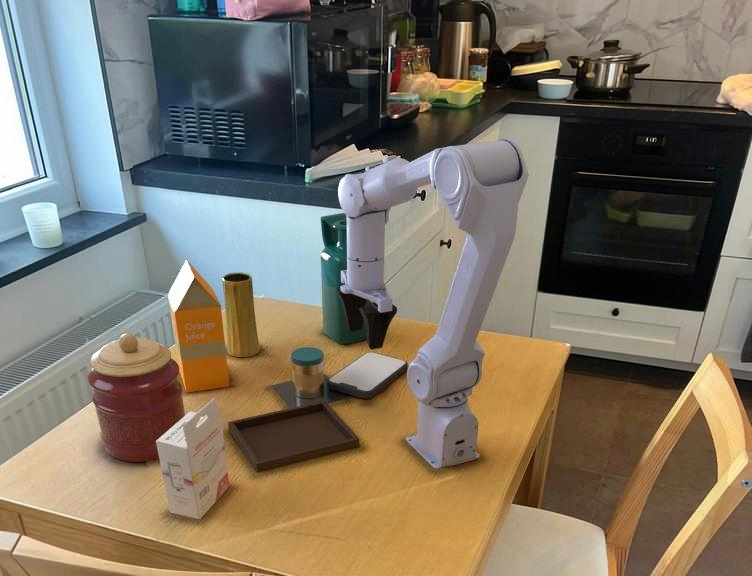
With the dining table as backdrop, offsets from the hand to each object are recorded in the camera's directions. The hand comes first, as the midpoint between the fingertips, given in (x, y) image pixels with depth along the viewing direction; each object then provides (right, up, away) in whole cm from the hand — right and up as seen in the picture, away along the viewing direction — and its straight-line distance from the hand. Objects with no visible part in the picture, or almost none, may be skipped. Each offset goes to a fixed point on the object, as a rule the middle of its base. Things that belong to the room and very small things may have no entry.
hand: (365, 339), depth 126 cm
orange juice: (-29, -5, +11) cm, 31 cm away
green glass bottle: (-4, +6, +27) cm, 28 cm away
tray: (-11, -17, -6) cm, 21 cm away
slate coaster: (-10, -8, +6) cm, 14 cm away
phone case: (0, -5, +11) cm, 12 cm away
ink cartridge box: (-23, -26, -19) cm, 40 cm away
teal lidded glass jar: (-10, -8, +6) cm, 14 cm away
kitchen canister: (-34, -17, -6) cm, 39 cm away
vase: (-23, +2, +20) cm, 31 cm away
